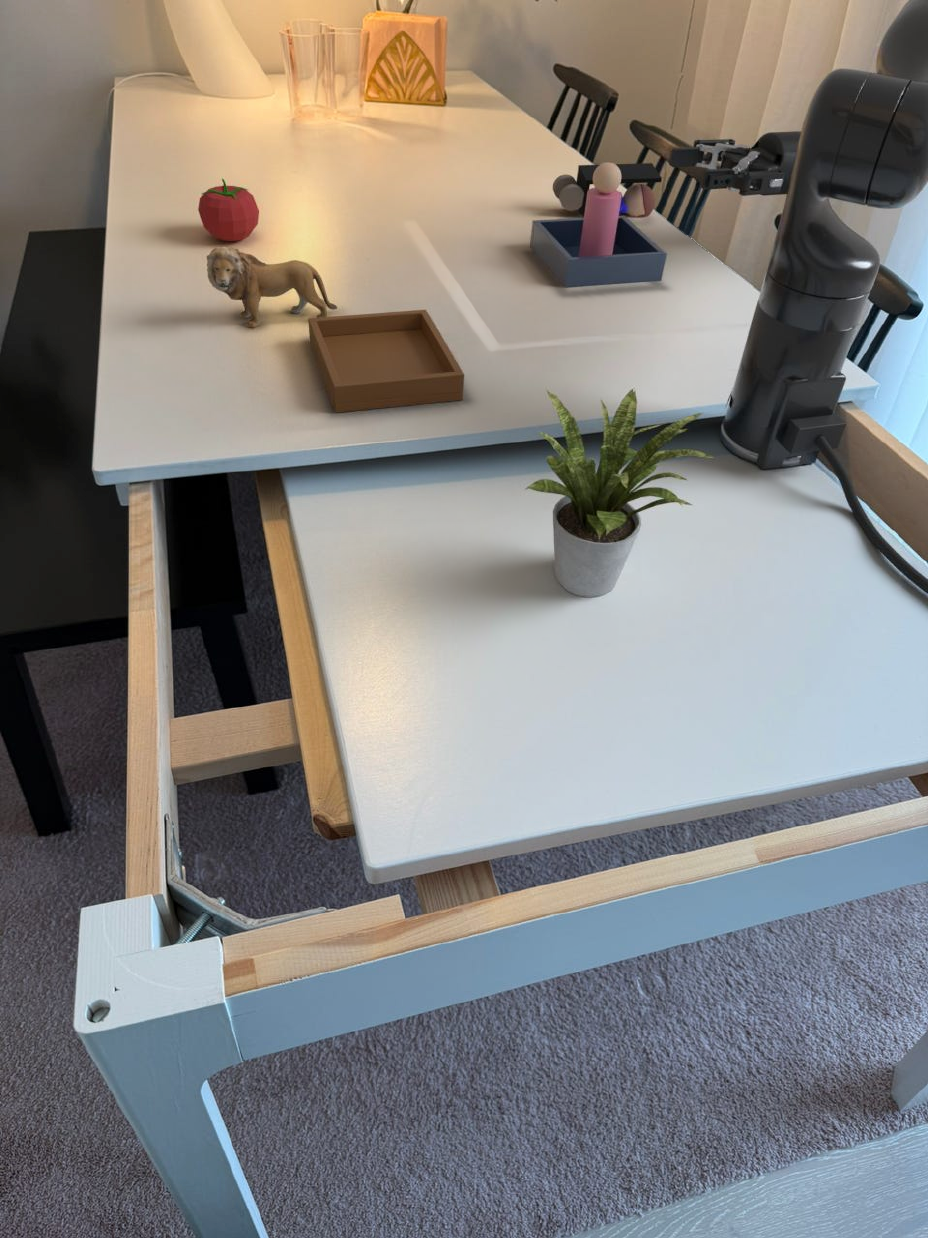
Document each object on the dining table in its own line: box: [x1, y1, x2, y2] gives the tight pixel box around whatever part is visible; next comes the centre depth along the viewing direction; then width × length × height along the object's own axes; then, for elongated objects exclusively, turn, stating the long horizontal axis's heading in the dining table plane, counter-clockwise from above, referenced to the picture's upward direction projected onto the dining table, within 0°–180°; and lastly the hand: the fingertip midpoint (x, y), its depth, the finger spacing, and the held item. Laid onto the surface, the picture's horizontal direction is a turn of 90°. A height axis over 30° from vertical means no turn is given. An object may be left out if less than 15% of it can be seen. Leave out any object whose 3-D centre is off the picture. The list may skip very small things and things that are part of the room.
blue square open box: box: [529, 215, 668, 289], centre depth 123 cm, size 14×14×4 cm
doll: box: [578, 161, 623, 257], centre depth 120 cm, size 4×4×13 cm
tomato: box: [197, 178, 260, 242], centre depth 123 cm, size 8×8×8 cm
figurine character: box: [552, 162, 663, 218], centre depth 137 cm, size 7×8×15 cm
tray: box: [307, 309, 465, 414], centre depth 100 cm, size 16×14×3 cm
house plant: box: [524, 388, 716, 598], centre depth 71 cm, size 14×14×16 cm
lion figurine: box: [206, 246, 338, 329], centre depth 106 cm, size 15×5×9 cm, turn 113°
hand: (686, 168), depth 119 cm, fingers open, 8 cm apart
